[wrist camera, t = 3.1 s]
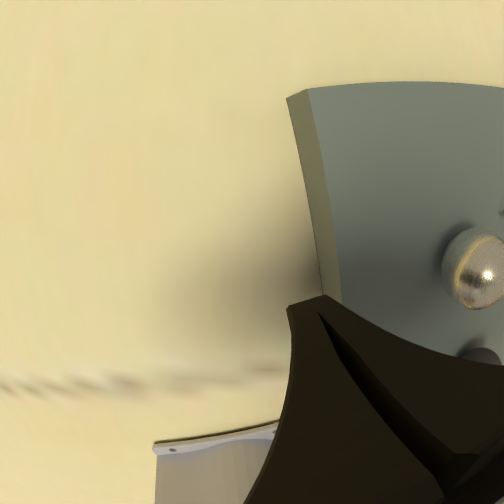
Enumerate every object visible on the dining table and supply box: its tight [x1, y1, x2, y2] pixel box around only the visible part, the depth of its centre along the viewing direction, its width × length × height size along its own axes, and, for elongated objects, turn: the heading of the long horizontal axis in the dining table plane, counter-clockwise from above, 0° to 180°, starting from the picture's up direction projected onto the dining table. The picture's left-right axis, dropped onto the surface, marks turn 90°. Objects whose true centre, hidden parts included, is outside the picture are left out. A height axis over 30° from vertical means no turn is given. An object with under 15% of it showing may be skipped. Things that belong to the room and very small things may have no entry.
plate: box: [286, 82, 504, 365], centre depth 13 cm, size 18×20×2 cm
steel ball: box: [441, 228, 504, 310], centre depth 9 cm, size 3×3×3 cm
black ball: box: [461, 347, 502, 365], centre depth 12 cm, size 3×3×3 cm
